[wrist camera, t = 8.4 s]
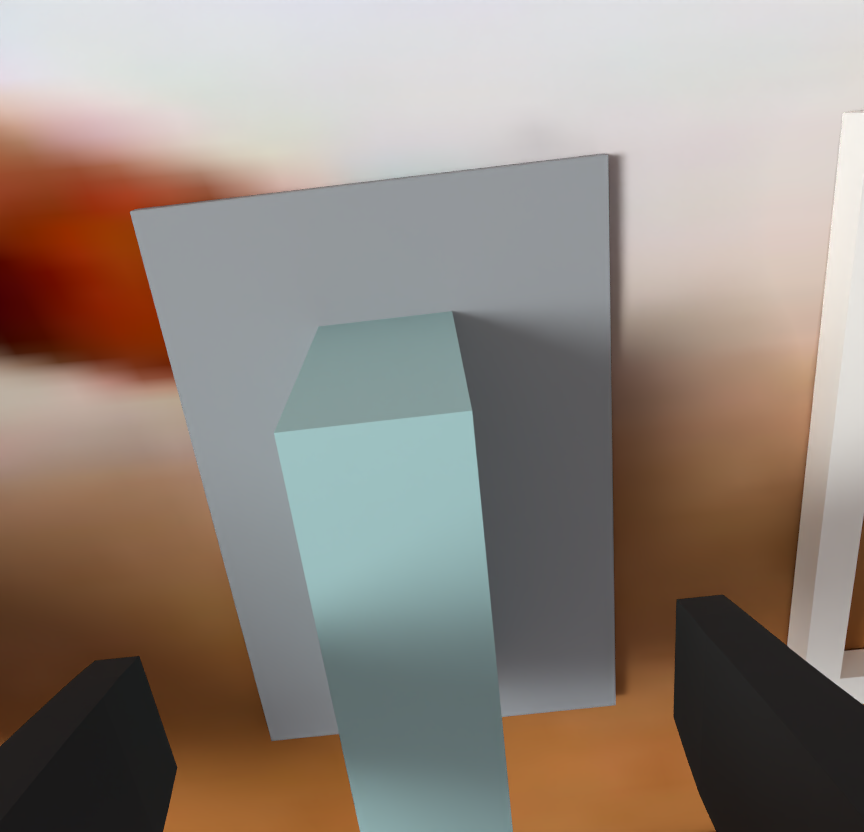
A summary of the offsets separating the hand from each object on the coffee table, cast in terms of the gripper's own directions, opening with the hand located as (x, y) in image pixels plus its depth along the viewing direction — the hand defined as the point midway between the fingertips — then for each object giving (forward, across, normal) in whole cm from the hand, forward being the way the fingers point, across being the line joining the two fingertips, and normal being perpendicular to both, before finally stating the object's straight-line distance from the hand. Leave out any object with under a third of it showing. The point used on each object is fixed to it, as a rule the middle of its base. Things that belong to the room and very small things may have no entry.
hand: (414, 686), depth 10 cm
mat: (+5, 0, 0) cm, 5 cm away
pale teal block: (+5, 0, 0) cm, 5 cm away
